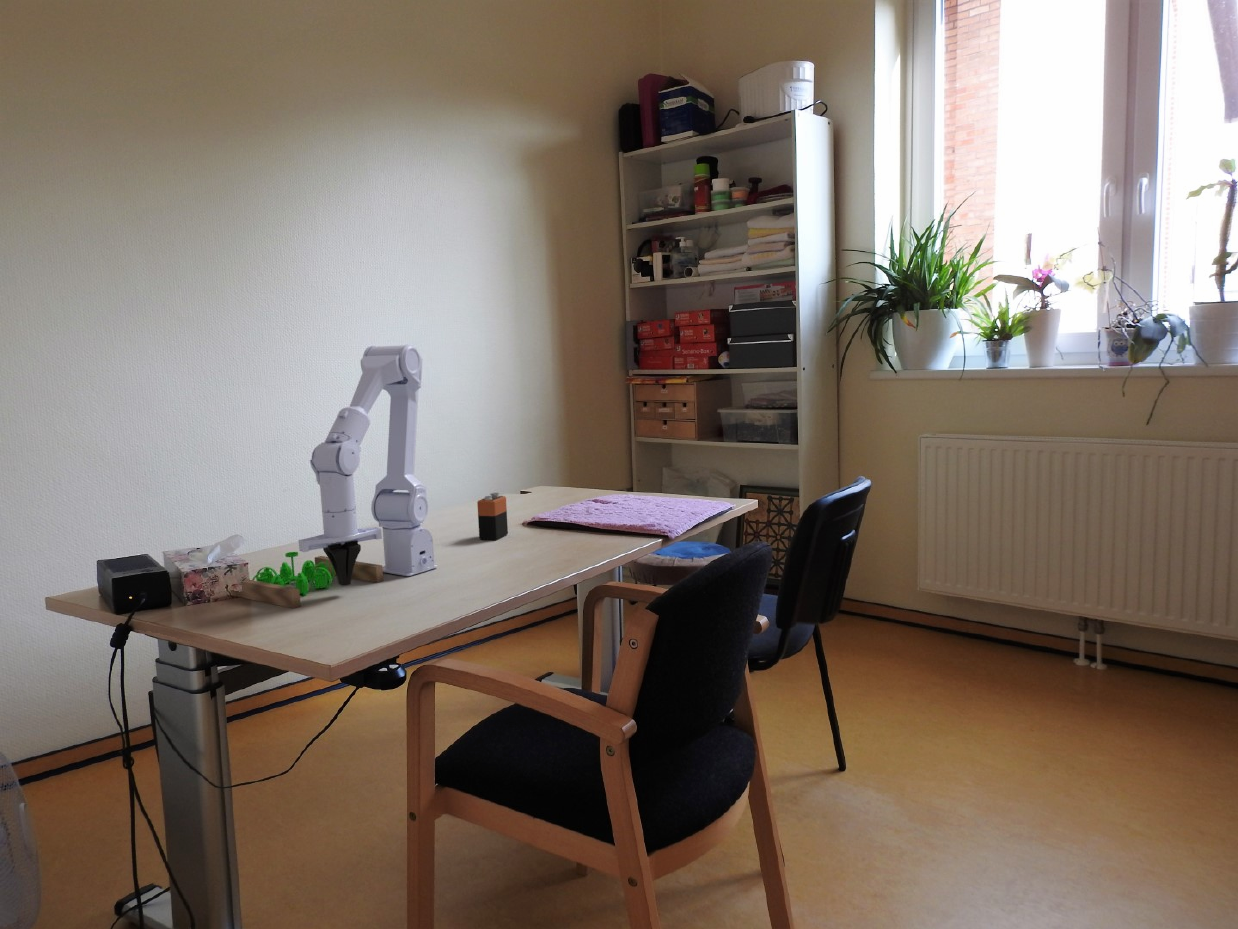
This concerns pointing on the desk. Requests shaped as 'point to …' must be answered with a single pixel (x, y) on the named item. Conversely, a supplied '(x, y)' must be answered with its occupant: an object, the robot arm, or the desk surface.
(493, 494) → the battery
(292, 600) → the pair of wooden bars
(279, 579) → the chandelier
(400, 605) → the desk surface
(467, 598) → the desk surface
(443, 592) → the desk surface
